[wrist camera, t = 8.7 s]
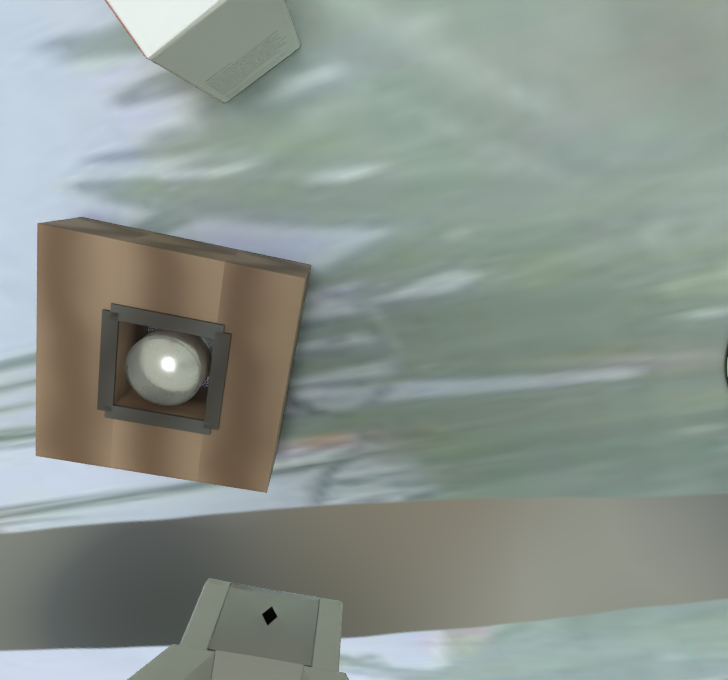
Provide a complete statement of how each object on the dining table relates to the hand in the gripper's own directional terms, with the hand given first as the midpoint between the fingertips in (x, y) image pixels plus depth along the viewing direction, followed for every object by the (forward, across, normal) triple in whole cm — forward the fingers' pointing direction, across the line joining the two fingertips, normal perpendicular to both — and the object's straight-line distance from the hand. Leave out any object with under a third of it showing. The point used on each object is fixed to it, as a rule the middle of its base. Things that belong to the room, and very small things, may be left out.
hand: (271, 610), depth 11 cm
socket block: (+26, +11, +5) cm, 29 cm away
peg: (+26, +11, +5) cm, 29 cm away
